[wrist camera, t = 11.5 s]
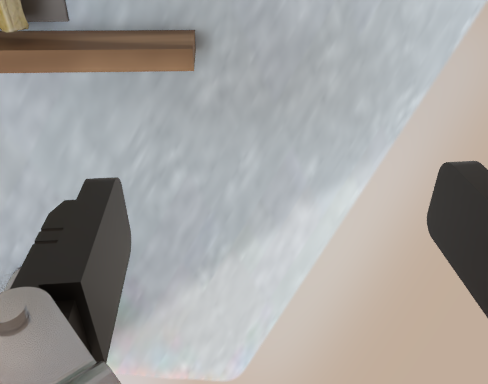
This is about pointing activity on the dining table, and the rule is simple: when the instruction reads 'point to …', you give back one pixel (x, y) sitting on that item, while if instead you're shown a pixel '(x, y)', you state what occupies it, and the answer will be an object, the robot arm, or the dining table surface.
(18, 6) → the plank
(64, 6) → the mat
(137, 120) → the dining table surface
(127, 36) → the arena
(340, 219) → the dining table surface
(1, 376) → the robot arm
